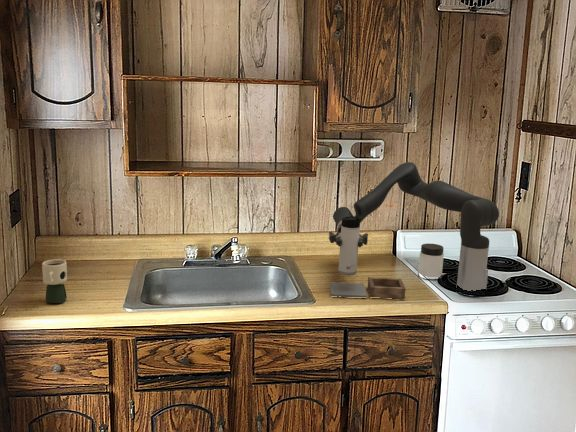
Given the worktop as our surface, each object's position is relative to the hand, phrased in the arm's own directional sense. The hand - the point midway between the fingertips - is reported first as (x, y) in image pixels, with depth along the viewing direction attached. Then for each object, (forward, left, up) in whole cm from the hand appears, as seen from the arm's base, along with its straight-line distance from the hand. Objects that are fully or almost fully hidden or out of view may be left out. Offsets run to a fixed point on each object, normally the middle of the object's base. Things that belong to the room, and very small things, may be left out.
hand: (349, 244), depth 201 cm
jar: (-32, -23, -18) cm, 44 cm away
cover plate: (0, -2, -18) cm, 18 cm away
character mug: (+93, +19, -18) cm, 96 cm away
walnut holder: (-13, -2, -18) cm, 22 cm away
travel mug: (0, -3, -11) cm, 11 cm away
